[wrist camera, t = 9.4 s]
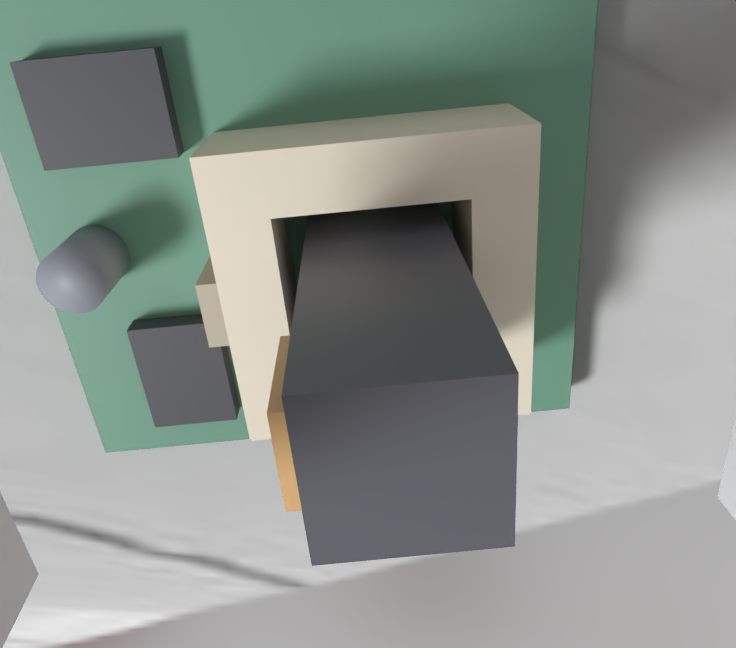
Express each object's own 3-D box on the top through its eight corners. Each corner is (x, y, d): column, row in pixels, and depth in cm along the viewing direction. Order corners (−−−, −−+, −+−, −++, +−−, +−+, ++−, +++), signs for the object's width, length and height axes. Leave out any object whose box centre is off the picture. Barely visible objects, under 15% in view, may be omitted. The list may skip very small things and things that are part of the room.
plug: (311, 317, 22) (289, 567, 12) (295, 207, 20) (254, 399, 11) (437, 305, 22) (514, 546, 12) (433, 194, 20) (519, 372, 11)
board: (115, 433, 26) (71, 518, 21) (-34, -14, 18) (-145, -17, 14) (559, 391, 26) (602, 467, 21) (587, -76, 18) (661, -98, 14)
